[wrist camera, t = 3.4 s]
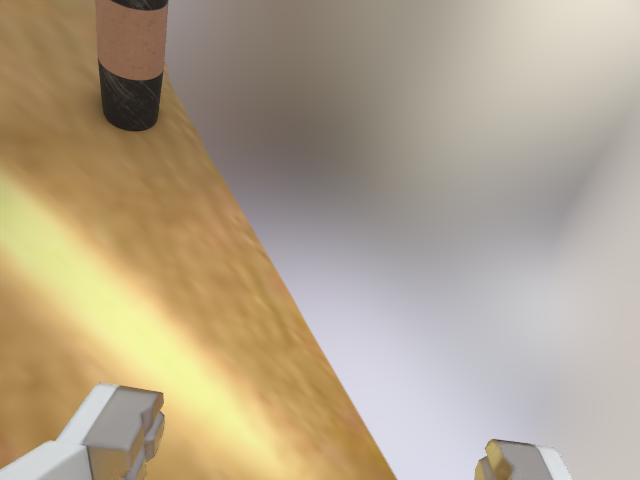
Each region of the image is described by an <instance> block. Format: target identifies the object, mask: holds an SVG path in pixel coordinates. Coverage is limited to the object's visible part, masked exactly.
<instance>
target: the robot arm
mask: <svg viewBox="0 0 640 480" xmlns="http://www.w3.org/2000/svg"><path fill="white" fill-rule="evenodd" d="M163 403H164V399H163V393H161V392H156V391H150V390H144V389H138V388H132V387H127V386H120V385H114V384H107V383H101V382H100V383H99V384H97V385H96V386H95V387H93V389H92V390H91V391H90V393H89V394H88V396H87V397H86V398H85V400H84V401H83V403H82V404H81V405H80V407H79V408H78V410H77V411H76V412H75V414H74V415H73V417H72V418H71V419H70V421H69V422H68V424H67V425H66V426H65V428H64V429H63V431H62V432H61V433H60V435H59V436H58V438H57V439H56V440H55V441H49V440H48V441H47V442H45V443H43V444H42V445H40V446H38V447H37V448H35V449H33V450H32V451H30V452H28V453H27V454H25V455H23V456H22V457H20V458H18V459H17V460H15V461H13V462H12V463H10V464H8V465H7V466H5V467H3V468H2V469H0V480H144V479H145V477H146V474H147V473H146V462H148V461H149V460H150V459H152V458H153V457H154V456H155V454H156V452H157V450H158V447H159V445H160V442H161V438H162V435H163V430H164V423H165V422H164V415H163V413H162V412H161V411H160V410H161V408H162V406H163ZM485 450H486V453H487V456H486V457H484V458H482V459H480V460H479V462H478V464H477V466H476V469H475V480H573V479H572V477H571V475H570V473H569V471H568V469H567V467H566V465H565V463H564V461H563V460H562V458H561V456H560V454H559V452H558V451H557V450H556V449H555V448H553V447H547V446H540V445H531V444H528V443H520V442H512V441H504V440H497V439H492V440H490V441H489V442H488V444H487V446H486V447H485Z"/></svg>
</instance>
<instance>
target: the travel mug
mask: <svg viewBox="0 0 640 480" xmlns="http://www.w3.org/2000/svg"><path fill="white" fill-rule="evenodd" d="M95 3H96V26H97V49H98V63H99V74H100V85H101V95H102V105H103V112H104V115H105V117H106V118H107V120H108V121H109V122H111V123H112V124H113V125H115V126H117V127H119V128H122V129H125V130H131V131H140V130H145V129H148V128H150V127H152V126H153V125H154V124H155V122H156V121H157V117H158V110H159V102H160V94H161V86H162V78H163V68H164V56H165V42H166V27H167V14H168V0H95Z"/></svg>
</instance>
